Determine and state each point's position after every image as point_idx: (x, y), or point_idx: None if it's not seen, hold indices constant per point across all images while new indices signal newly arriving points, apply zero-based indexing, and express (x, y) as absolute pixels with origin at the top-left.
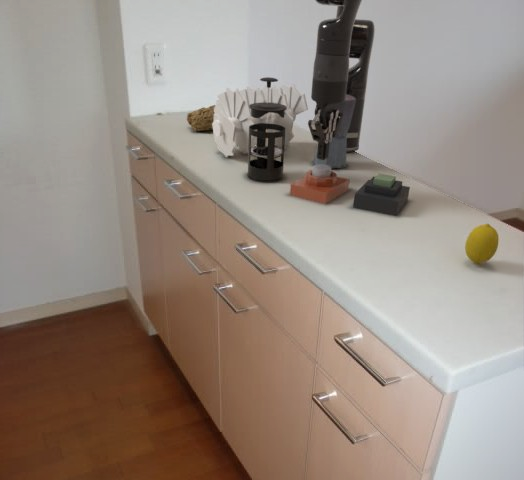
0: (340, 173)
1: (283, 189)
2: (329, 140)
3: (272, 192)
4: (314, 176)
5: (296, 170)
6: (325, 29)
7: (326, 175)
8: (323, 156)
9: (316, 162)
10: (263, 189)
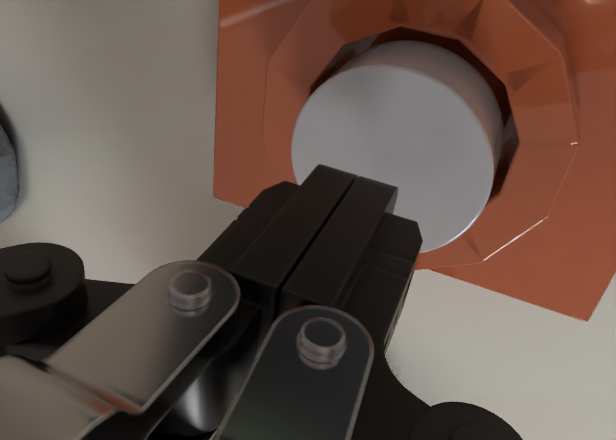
0: (8, 41)
1: (475, 316)
2: (237, 300)
3: (563, 369)
4: (508, 186)
5: (134, 283)
6: None
7: (472, 76)
8: (394, 224)
9: (4, 212)
10: (525, 414)
